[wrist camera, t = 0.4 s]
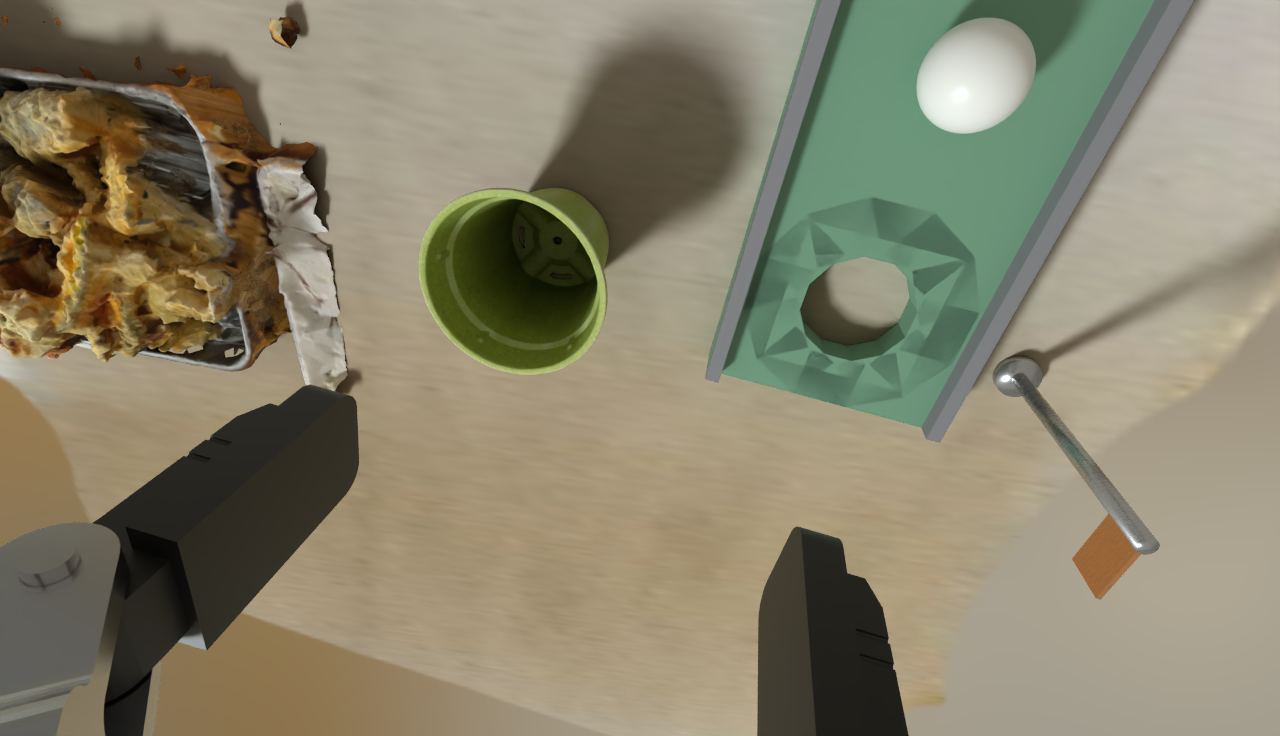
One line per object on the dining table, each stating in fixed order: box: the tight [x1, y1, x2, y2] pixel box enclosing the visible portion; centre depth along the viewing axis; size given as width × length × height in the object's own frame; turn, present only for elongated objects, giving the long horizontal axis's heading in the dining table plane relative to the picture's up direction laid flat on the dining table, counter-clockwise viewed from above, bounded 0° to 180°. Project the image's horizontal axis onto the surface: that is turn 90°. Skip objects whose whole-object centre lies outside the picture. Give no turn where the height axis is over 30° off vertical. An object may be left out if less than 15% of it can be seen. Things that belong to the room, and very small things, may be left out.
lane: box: [705, 0, 1194, 443], centre depth 31 cm, size 24×14×3 cm, turn 168°
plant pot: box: [419, 188, 609, 375], centre depth 33 cm, size 9×9×9 cm
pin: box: [993, 356, 1160, 599], centre depth 30 cm, size 4×2×14 cm, turn 168°
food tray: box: [0, 8, 348, 391], centre depth 37 cm, size 35×26×11 cm
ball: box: [916, 18, 1036, 134], centre depth 25 cm, size 4×4×4 cm
